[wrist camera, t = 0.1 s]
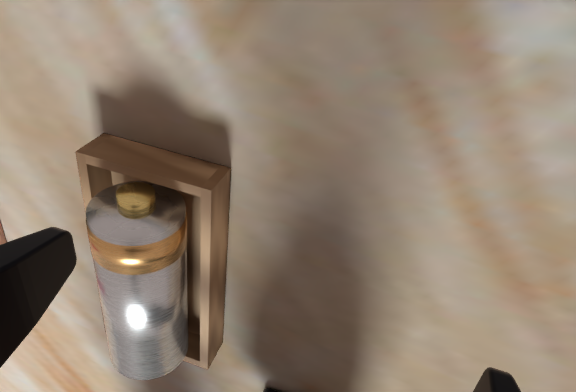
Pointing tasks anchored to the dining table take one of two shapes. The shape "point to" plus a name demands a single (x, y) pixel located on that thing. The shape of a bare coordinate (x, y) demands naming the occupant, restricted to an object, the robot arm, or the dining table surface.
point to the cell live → (141, 275)
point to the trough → (200, 223)
